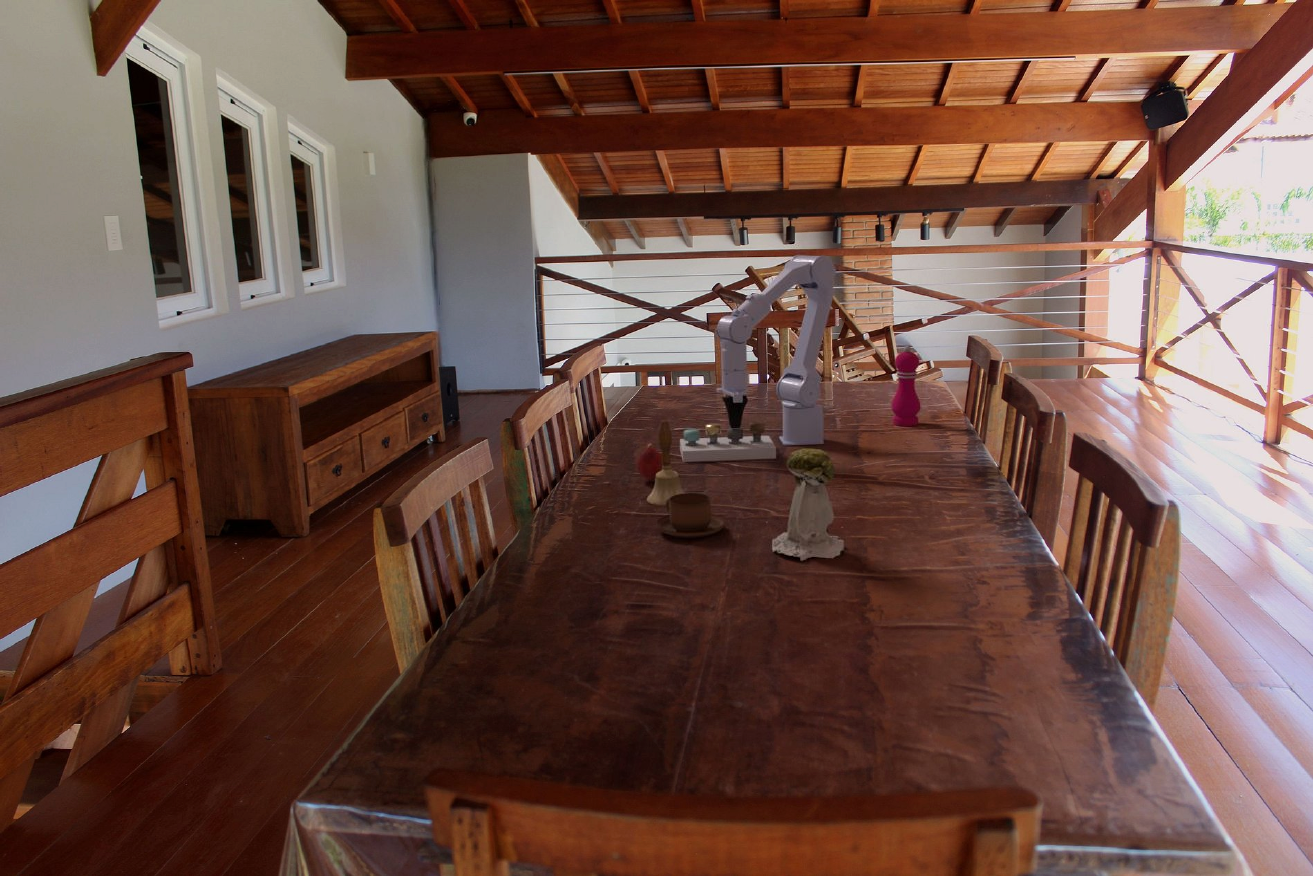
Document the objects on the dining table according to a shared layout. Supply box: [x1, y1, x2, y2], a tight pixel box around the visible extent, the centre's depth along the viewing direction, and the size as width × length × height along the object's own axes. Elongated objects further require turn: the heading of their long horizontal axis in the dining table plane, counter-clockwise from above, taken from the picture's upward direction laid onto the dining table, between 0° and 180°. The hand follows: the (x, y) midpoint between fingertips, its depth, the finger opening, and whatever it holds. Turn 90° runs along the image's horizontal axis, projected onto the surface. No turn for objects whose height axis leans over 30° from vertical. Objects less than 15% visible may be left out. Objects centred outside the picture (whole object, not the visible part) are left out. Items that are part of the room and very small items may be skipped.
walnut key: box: [748, 421, 766, 442], centre depth 230 cm, size 4×4×4 cm
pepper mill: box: [890, 345, 921, 427], centre depth 253 cm, size 7×7×20 cm
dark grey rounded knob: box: [726, 427, 744, 445], centre depth 230 cm, size 4×4×4 cm
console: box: [679, 435, 777, 463], centre depth 231 cm, size 21×12×2 cm, turn 92°
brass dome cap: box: [704, 422, 722, 444], centre depth 230 cm, size 4×4×4 cm
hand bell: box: [646, 419, 686, 507], centre depth 195 cm, size 8×8×16 cm
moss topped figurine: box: [771, 448, 845, 561], centre depth 165 cm, size 11×12×17 cm
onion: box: [636, 443, 663, 482], centre depth 210 cm, size 6×6×8 cm
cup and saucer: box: [656, 492, 725, 539], centre depth 177 cm, size 12×12×6 cm
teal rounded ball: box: [683, 428, 701, 446], centre depth 230 cm, size 4×4×4 cm
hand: (735, 427), depth 230 cm, fingers closed
